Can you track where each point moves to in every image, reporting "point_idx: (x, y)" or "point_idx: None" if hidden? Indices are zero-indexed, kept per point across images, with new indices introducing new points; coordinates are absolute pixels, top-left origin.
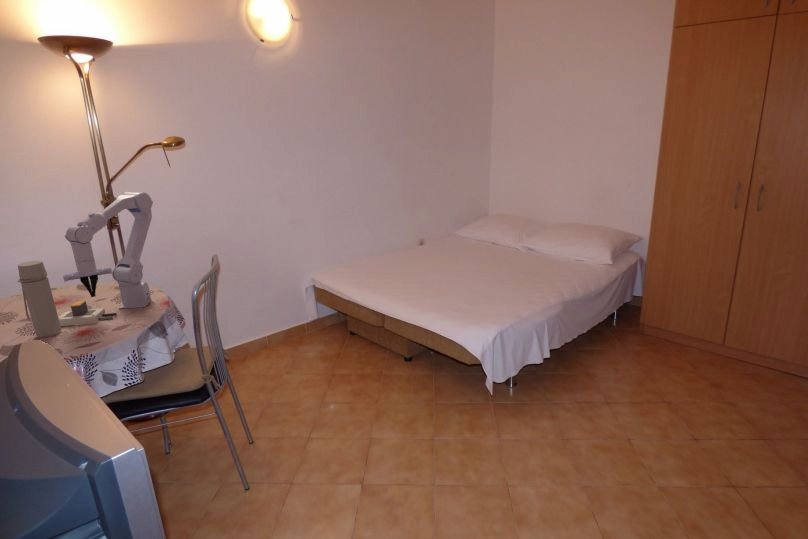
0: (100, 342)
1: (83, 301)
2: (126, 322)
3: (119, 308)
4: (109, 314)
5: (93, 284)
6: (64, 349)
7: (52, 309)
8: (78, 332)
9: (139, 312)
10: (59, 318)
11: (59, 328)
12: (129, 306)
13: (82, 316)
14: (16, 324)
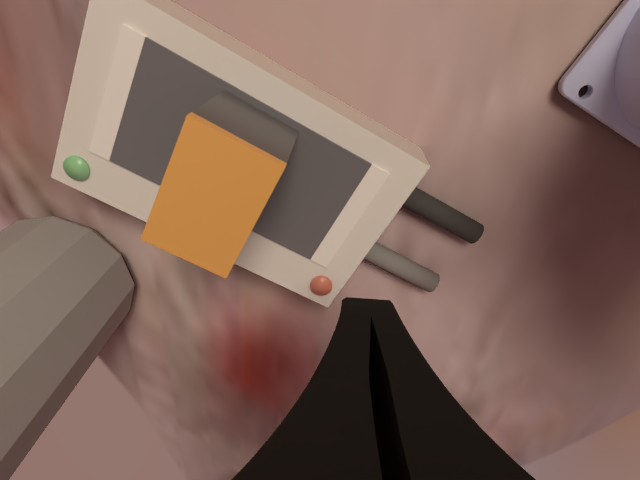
0: None
1: (262, 192)
2: (470, 376)
3: (559, 91)
4: (435, 222)
5: None
6: (184, 468)
7: (24, 455)
8: (230, 347)
9: (610, 275)
10: (83, 180)
11: (123, 310)
12: (637, 128)
13: (251, 247)
14: None
